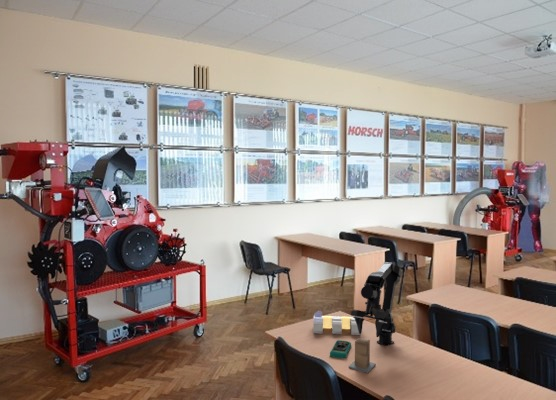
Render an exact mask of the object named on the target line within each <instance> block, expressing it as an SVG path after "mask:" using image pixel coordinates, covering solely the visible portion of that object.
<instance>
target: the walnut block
mask: <svg viewBox="0 0 556 400" xmlns="http://www.w3.org/2000/svg"><path fill="white" fill-rule="evenodd" d="M370 348H371V340H370V339H367V338H363V337H362V338H361V337H358V338H357V339H356V340H355V341H354V361H355V366H358V367H362V368H366V367H367V366H368V365H369V364H370V362H371V361H370V359H371V358H370V357H371V356H370V355H371V354H370V353H371V349H370Z"/></svg>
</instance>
